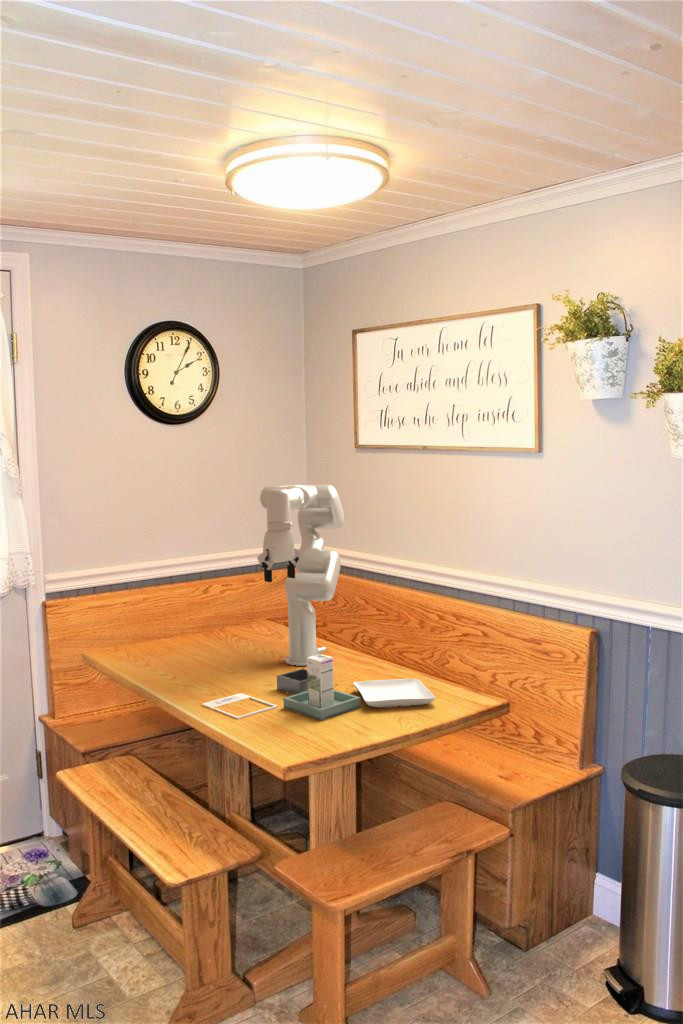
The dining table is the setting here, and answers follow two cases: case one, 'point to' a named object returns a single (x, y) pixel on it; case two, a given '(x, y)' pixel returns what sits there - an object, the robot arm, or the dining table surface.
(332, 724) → the dining table surface
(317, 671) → the syrup box
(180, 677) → the dining table surface
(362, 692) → the salad plate
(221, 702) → the photo frame
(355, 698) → the tray
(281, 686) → the sleeve
